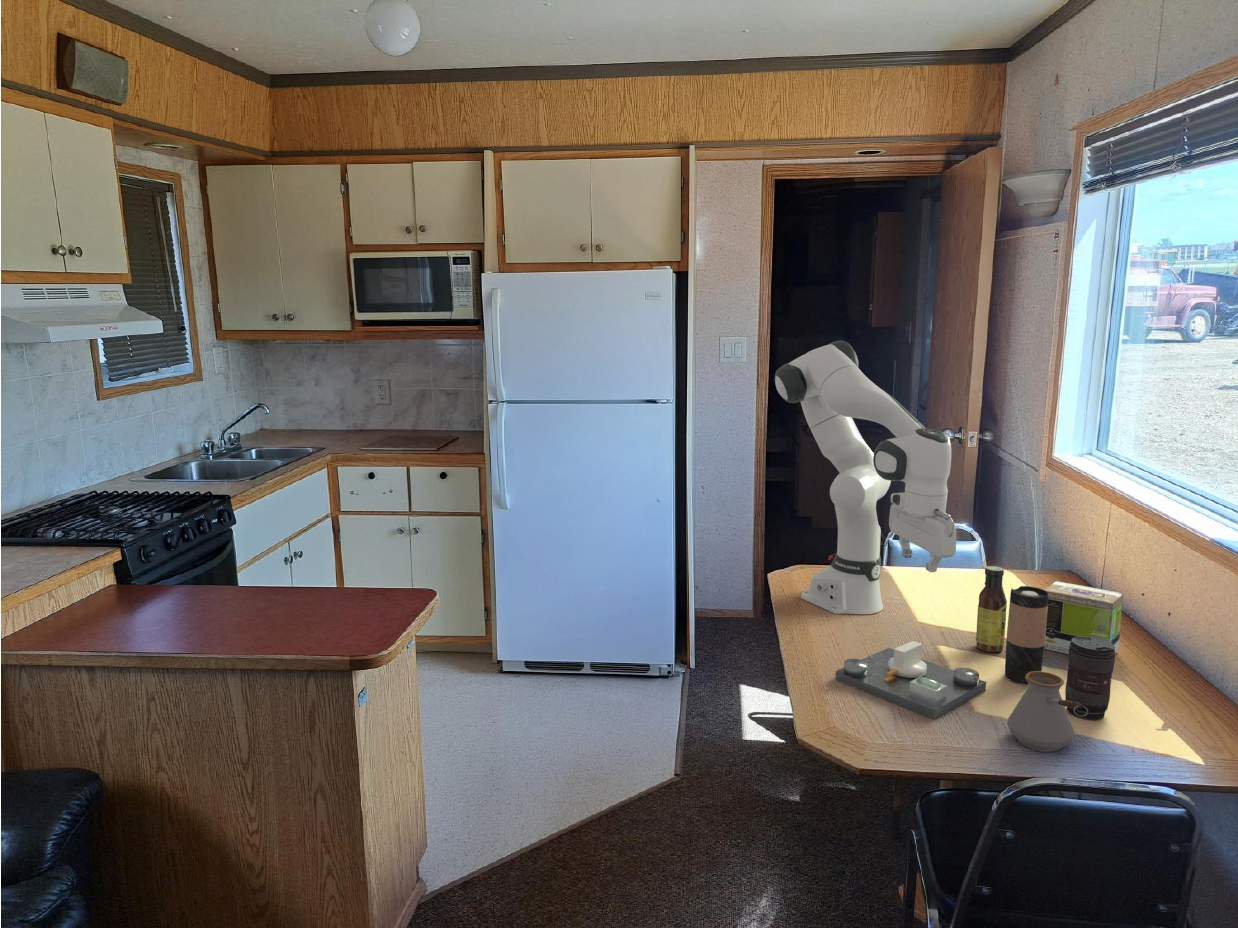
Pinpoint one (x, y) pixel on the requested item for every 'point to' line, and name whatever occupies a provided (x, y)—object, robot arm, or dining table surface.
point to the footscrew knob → (907, 661)
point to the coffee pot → (1043, 714)
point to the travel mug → (1025, 632)
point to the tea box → (1081, 615)
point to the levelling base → (903, 685)
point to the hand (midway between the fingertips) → (918, 563)
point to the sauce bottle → (991, 612)
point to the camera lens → (1089, 676)
